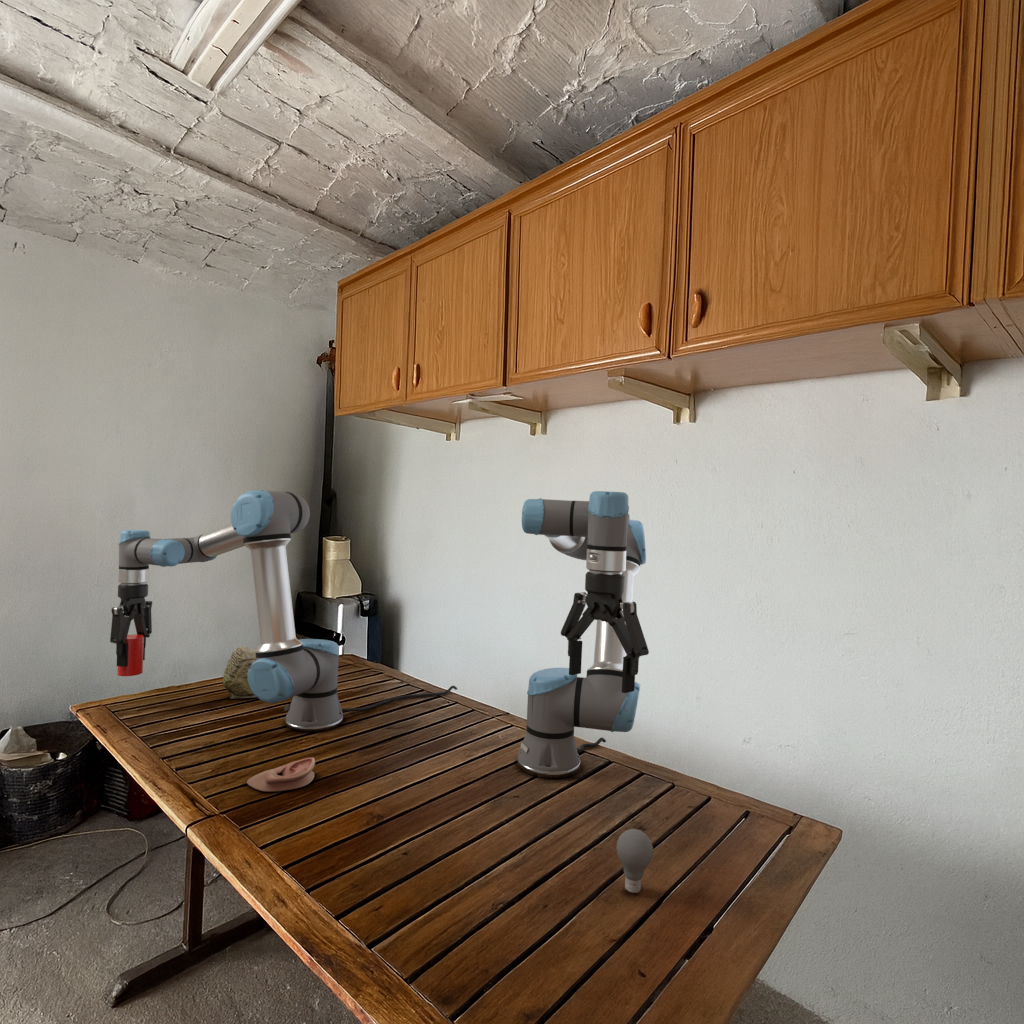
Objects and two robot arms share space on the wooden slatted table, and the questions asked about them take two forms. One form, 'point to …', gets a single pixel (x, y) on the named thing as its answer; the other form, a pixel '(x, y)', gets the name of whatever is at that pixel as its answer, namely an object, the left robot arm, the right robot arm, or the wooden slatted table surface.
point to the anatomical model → (284, 776)
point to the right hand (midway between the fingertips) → (600, 682)
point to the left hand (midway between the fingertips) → (130, 662)
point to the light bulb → (634, 857)
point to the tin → (133, 656)
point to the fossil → (239, 673)
